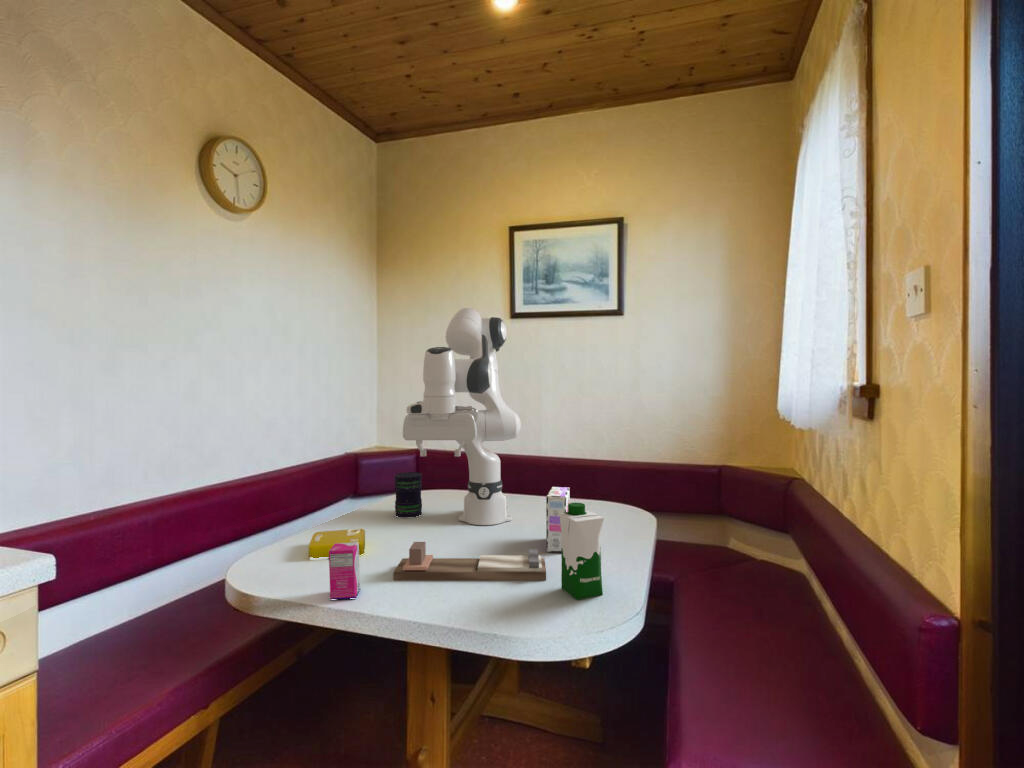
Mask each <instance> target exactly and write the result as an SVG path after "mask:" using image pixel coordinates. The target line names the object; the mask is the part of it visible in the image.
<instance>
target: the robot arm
mask: <svg viewBox="0 0 1024 768" xmlns="http://www.w3.org/2000/svg"><path fill="white" fill-rule="evenodd" d="M507 333H508V331H507V327H506V324H505V322H504V320H503V319H501V317H495V316H494V317H493V316H492V317H489V318H488V317H486V318H485V317H483V318H482V317H481V315H480V313H479V312H478V311H477V310H476V309H474V308H471V307H465V308H464V307H463V308H461V309H460V310H458V311H457V312H456V313H455V314H454V316H452V318H451V320H450V321H449V323H448V326H447V328H446V332H445V342H446V344H447V346H448V347H447V346H436V347H435V346H434V347H431V348H428V349H426V350H425V352H424V353H425V354H424V358H423V367H422V369H423V371H422V373H423V374H422V380H423V384H424V391H423V400H420V401H416V402H415V403H412V404H410V405H408V406H407V407H406V413H407V415H406V416H405V417H404V419H403V425H402V438H403V439H404V440H405V441H415V445H416V447H417V448H418V451H419V452H420V453H419V455H420V457H422V458H423V457H427V450H428V449H426V448H424V447H423V445H422V444H423V441H455V442H457V443H458V445H459V447H458V449H456V448H455V450H454V457H456V458H457V457H461V456H462V455H461V450H462V448H463V450H464V452H465V454H466V457H467V461H468V472H469V473H468V474H469V475H468V477H469V479H468V483H467V491H468V492H467V494H465V496H464V497H463V513H462V514H461V515H459V517H458V521H460V522H464V523H467V524H470V525H475V526H492V525H499V524H502V523H505V522H509V521H510V522H511V521H512V520H513V517H512V515H511V514H510V513H509V511H508V510H507V509H508V506H507V496H506V495H505V494H504V493H503V492H502V490H503V481H502V478H501V473H502V472H501V459H500V457H499V455H498V454H496V453H495V452H493V451H491V450H489V449H487V448H485V447H484V445H483V443H485V442H505V441H508V440H514V439H516V438H517V437H518V436H519V434H520V433H521V429H522V421H521V418H520V416H519V415H518V413H516V411H514V410H512V409H511V408H510V407H509V406H508V405H507V404H506V402H505V401H504V398H503V397H502V395H501V390H500V388H501V387H500V380H499V379H500V378H499V377H500V376H499V363H498V359H497V354H496V353H497V352H499V351H500V348H501V347H503V345H505V342H506V340H507V336H508V335H507ZM455 353H456V354H458V355H460V356H469V358H468V359H467V358H465V359H463V358H456V359H455V356H454V354H455ZM457 393H468V394H469V396H470V398H471V399H472V400H474V401H475V402H477V403H479V404H481V405H482V406H484V407H485V409H481V410H479V409H478V410H477V408H475V407H473V406H472V405H471V406H470V405H468V406H462V405H457Z"/></svg>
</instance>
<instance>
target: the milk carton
mask: <svg viewBox="0 0 1024 768" xmlns="http://www.w3.org/2000/svg"><path fill="white" fill-rule="evenodd" d="M559 515H560V524H561V580H560V581H561V590H563V591H564V592H565V593H567V594H568V595H569V596H571V597H572V598H573V599H575V600H576V601H579V600H583V599H588V598H593V597H598V596H603V577H602V530H603V525H604V520H605V519H604V517H603V516H601V515H599V514H597V513H595V512H592V511H591V510H587V509H586V504H585V503H582V502H570V503H569V504H568V512H564V513H559Z"/></svg>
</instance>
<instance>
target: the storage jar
mask: <svg viewBox="0 0 1024 768" xmlns="http://www.w3.org/2000/svg"><path fill="white" fill-rule="evenodd" d="M422 482H423V478H422V473H421V472H417V471H409V472H408V471H406V472H399V473H395V474H394V489H395V501H394V509H395V510H394V512H395V515H396V516H398V517H414V518H417V517H416V516H418V517H420V516H419V515H421V514H422V515H423V512H422V510H423V502H422V501H423V500H422V487H423V486H422V484H423V483H422ZM422 515H421V516H422ZM396 516H395V517H396ZM398 517H397V518H398Z"/></svg>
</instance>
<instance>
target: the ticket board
mask: <svg viewBox="0 0 1024 768" xmlns="http://www.w3.org/2000/svg"><path fill="white" fill-rule="evenodd" d="M408 558H409V557H408ZM408 558H407V557H405V558H402V559H401V560H400V561H399V563H398V564H397V566H396V567H395V569H394V571H393V577H392V578H393V581H547V569H546V567H547V566H546V560H545V559H546V558H544V557H543V558H542V556H541V554H539V549H538V548H528V555H527V554H526V555H523V554H522V555H521V554H520V555H515V554H513V555H511V554H510V555H509V554H508V555H506V554H503V555H502V554H501V555H500V554H495V555H493V554H492V555H490V554H488V555H485V554H484V555H483V554H481V555H480V557H479V558H475V557H471V558H470V557H469V558H467V557H466V558H463V557H462V558H461V557H460V558H459V557H457V558H455V557H452V558H451V557H450V558H448V557H447V558H444V557H443V558H438V557H436V558H434V557H433V559H432V561H431V563H430V565H429V567H428V569H427V570H403V566H404V565H405V563H406V561H407V560H408Z"/></svg>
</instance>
